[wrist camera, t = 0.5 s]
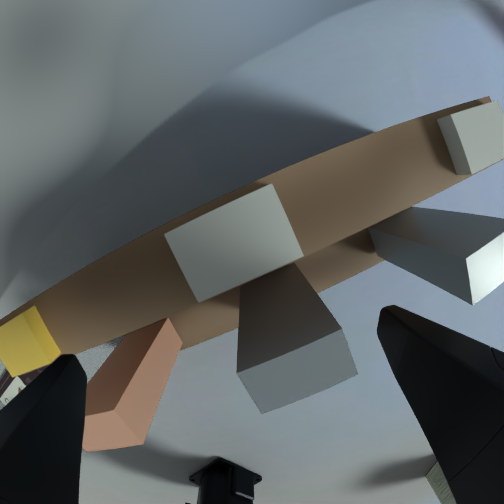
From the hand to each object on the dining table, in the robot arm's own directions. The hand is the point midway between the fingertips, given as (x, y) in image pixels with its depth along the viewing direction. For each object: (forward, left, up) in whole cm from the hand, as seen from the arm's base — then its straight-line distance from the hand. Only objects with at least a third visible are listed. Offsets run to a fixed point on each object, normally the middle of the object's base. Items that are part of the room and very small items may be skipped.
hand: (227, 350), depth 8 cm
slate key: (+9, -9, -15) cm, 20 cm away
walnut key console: (+1, -1, -16) cm, 16 cm away
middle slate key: (-1, -4, -15) cm, 16 cm away
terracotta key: (-11, +1, -16) cm, 19 cm away
